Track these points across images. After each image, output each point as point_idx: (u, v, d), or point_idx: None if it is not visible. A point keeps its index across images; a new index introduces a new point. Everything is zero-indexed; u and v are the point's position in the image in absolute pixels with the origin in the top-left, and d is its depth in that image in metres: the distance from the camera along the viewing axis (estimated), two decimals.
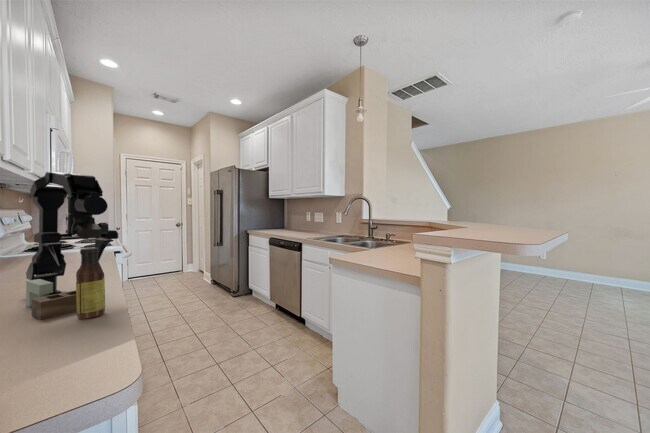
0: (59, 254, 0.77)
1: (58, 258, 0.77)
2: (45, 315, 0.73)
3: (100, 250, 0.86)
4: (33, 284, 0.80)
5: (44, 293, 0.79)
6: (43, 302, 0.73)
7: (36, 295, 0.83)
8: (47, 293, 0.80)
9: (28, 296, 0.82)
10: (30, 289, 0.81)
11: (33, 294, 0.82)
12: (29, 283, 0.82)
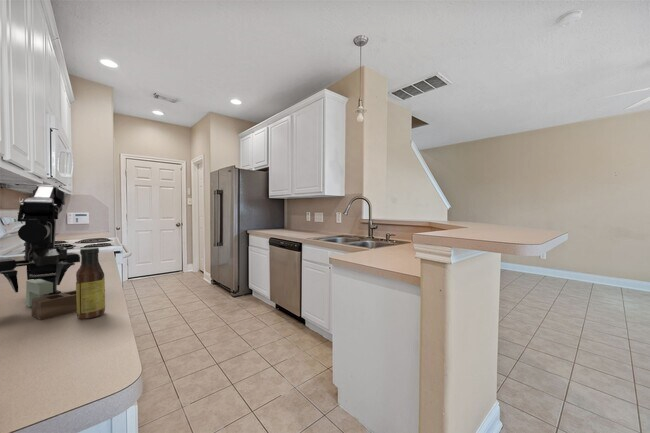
0: (15, 281, 0.77)
1: (14, 285, 0.77)
2: (45, 315, 0.73)
3: (61, 274, 0.86)
4: (33, 284, 0.80)
5: (44, 293, 0.79)
6: (43, 302, 0.73)
7: (36, 295, 0.83)
8: (47, 293, 0.80)
9: (28, 296, 0.82)
10: (30, 289, 0.81)
11: (33, 294, 0.82)
12: (29, 283, 0.82)
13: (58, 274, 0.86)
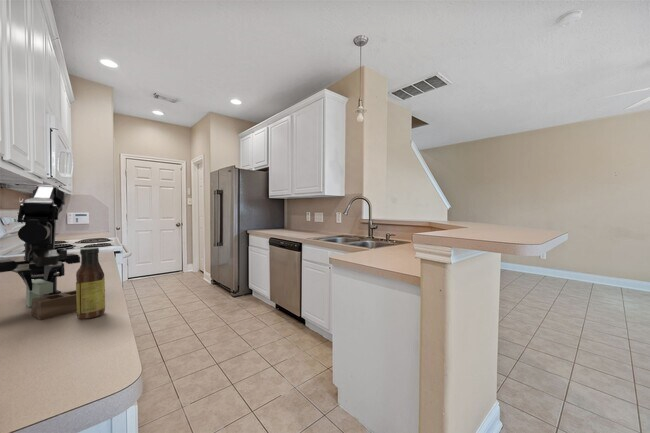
0: (29, 280, 0.80)
1: (28, 283, 0.80)
2: (45, 315, 0.73)
3: (48, 277, 0.83)
4: (33, 284, 0.80)
5: (44, 293, 0.79)
6: (43, 302, 0.73)
7: (36, 295, 0.83)
8: (47, 293, 0.80)
9: (28, 296, 0.82)
10: None
11: (33, 294, 0.82)
12: None
13: (46, 277, 0.84)
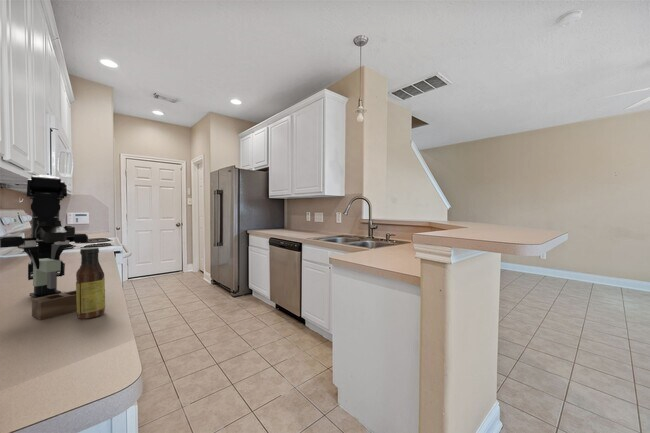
0: (36, 257, 0.77)
1: (35, 261, 0.77)
2: (45, 315, 0.73)
3: (56, 255, 0.81)
4: (40, 262, 0.77)
5: (52, 271, 0.77)
6: (43, 302, 0.73)
7: (43, 274, 0.80)
8: (55, 271, 0.77)
9: (35, 275, 0.79)
10: None
11: (40, 273, 0.79)
12: None
13: (53, 255, 0.81)
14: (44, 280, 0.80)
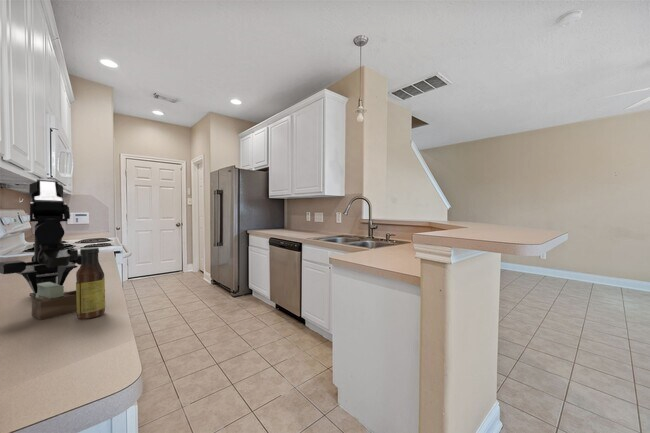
0: (34, 282, 0.76)
1: (33, 286, 0.76)
2: (45, 315, 0.73)
3: (62, 277, 0.81)
4: (43, 287, 0.77)
5: (55, 297, 0.76)
6: (43, 302, 0.73)
7: None
8: (58, 297, 0.77)
9: None
10: (40, 292, 0.78)
11: None
12: (39, 286, 0.78)
13: (59, 277, 0.81)
14: None
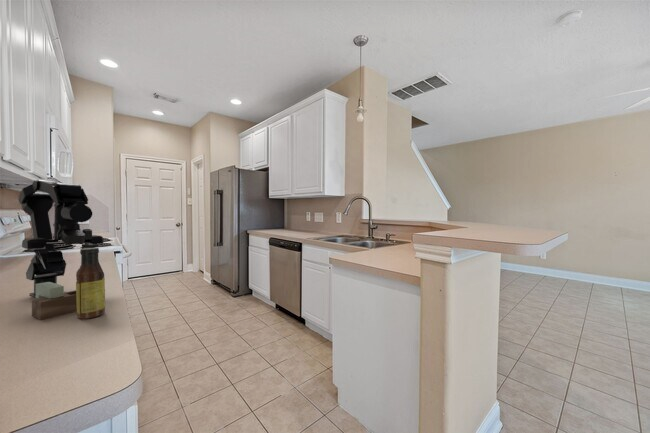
0: (45, 258, 0.82)
1: (44, 262, 0.82)
2: (45, 315, 0.73)
3: None
4: (43, 287, 0.77)
5: (55, 297, 0.76)
6: (43, 302, 0.73)
7: None
8: (58, 297, 0.77)
9: None
10: (40, 292, 0.78)
11: None
12: (39, 286, 0.78)
13: None
14: None
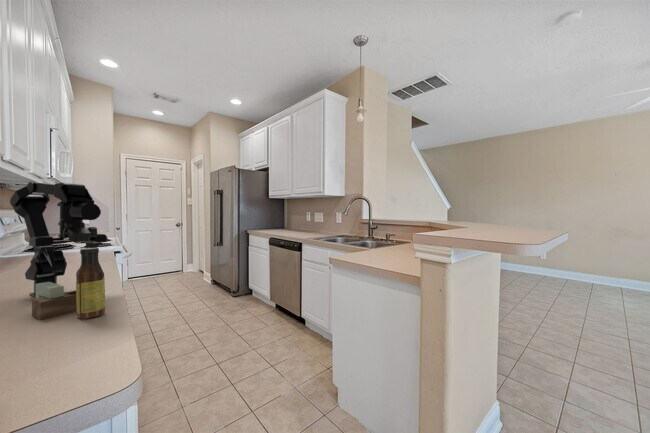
0: (52, 256, 0.85)
1: (51, 260, 0.85)
2: (45, 315, 0.73)
3: None
4: (43, 287, 0.77)
5: (55, 297, 0.76)
6: (43, 302, 0.73)
7: None
8: (58, 297, 0.77)
9: None
10: (40, 292, 0.78)
11: None
12: (39, 286, 0.78)
13: None
14: None
